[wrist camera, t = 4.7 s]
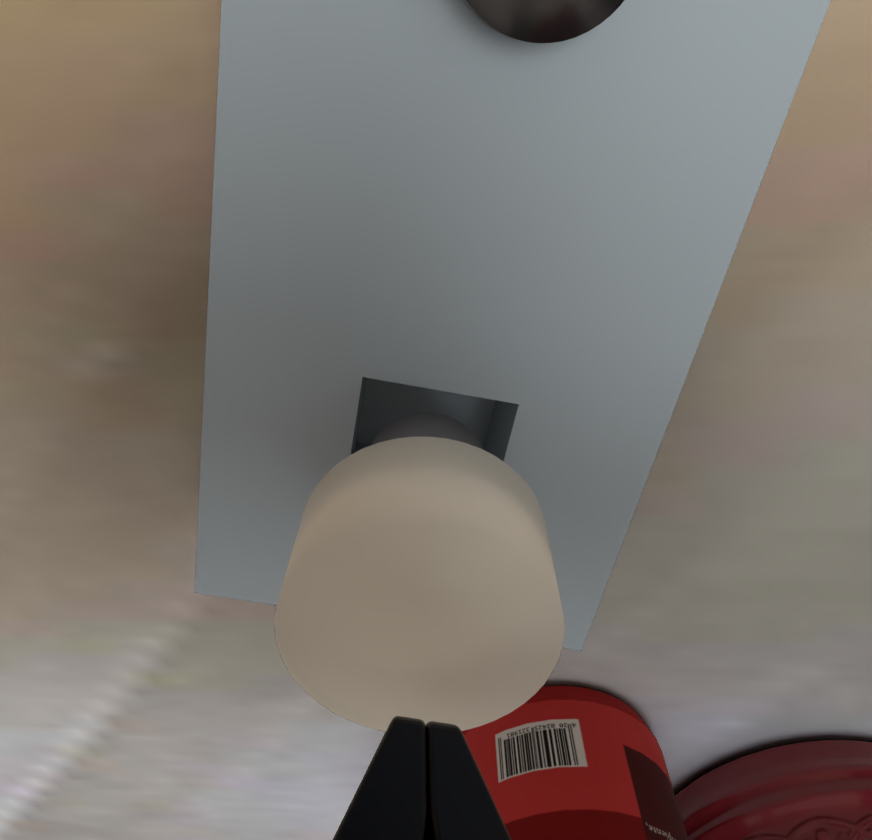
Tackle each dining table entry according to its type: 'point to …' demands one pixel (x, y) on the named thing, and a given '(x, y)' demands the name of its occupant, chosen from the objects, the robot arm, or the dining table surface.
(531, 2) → the pot stem
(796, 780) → the canister
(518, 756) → the canned food
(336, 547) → the knob
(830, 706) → the dining table surface
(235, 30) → the mount
